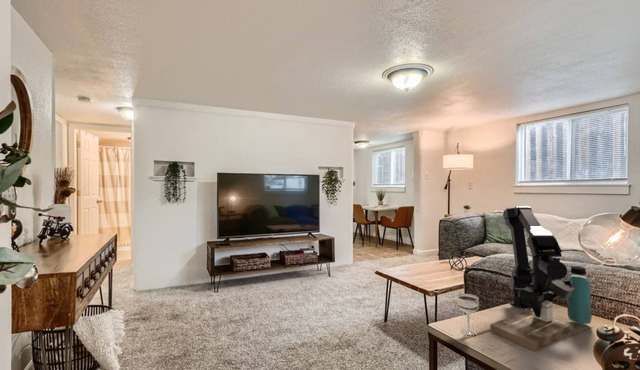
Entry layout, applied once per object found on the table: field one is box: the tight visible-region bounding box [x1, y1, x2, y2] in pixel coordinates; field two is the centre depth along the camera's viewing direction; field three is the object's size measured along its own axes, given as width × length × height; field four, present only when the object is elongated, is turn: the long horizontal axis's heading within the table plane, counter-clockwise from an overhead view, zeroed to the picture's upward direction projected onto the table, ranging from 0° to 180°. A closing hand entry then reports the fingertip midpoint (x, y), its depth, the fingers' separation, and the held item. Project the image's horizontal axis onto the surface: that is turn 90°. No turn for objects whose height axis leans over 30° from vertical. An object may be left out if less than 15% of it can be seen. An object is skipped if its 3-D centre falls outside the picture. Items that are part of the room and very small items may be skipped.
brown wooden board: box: [489, 308, 574, 352], centre depth 106 cm, size 23×14×3 cm, turn 118°
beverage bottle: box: [566, 265, 593, 325], centre depth 110 cm, size 6×7×20 cm
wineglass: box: [456, 293, 480, 337], centre depth 106 cm, size 7×7×12 cm
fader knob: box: [533, 300, 554, 322], centre depth 109 cm, size 4×4×6 cm
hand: (542, 314), depth 109 cm, fingers open, 6 cm apart
